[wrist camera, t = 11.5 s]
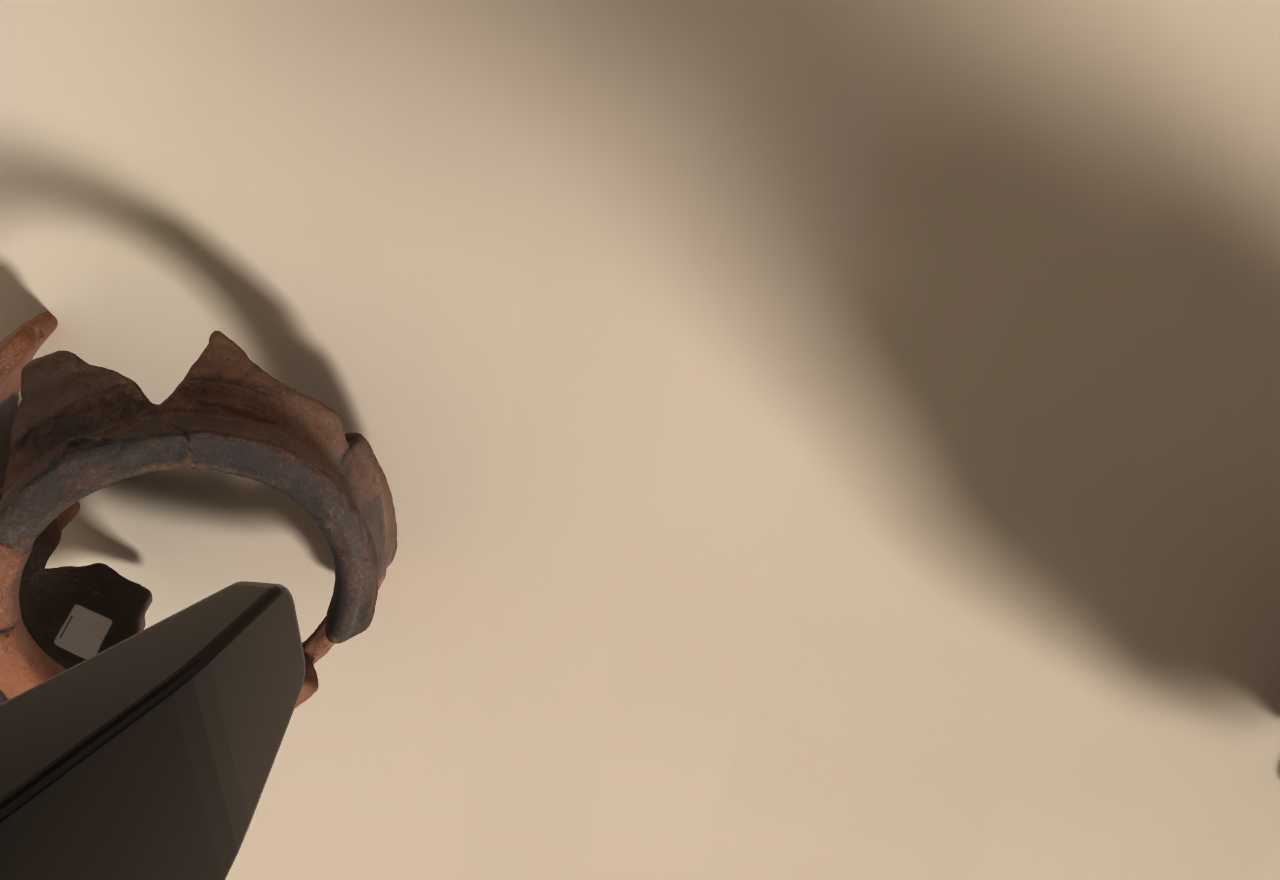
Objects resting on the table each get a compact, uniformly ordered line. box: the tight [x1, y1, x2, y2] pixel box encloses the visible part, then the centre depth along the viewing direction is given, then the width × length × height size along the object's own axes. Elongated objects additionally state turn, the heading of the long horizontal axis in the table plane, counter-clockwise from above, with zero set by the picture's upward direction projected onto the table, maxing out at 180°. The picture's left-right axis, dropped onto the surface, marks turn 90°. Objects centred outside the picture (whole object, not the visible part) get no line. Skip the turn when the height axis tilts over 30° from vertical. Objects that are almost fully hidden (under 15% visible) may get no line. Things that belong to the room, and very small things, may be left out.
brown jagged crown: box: [0, 313, 397, 708], centre depth 22 cm, size 12×10×8 cm
